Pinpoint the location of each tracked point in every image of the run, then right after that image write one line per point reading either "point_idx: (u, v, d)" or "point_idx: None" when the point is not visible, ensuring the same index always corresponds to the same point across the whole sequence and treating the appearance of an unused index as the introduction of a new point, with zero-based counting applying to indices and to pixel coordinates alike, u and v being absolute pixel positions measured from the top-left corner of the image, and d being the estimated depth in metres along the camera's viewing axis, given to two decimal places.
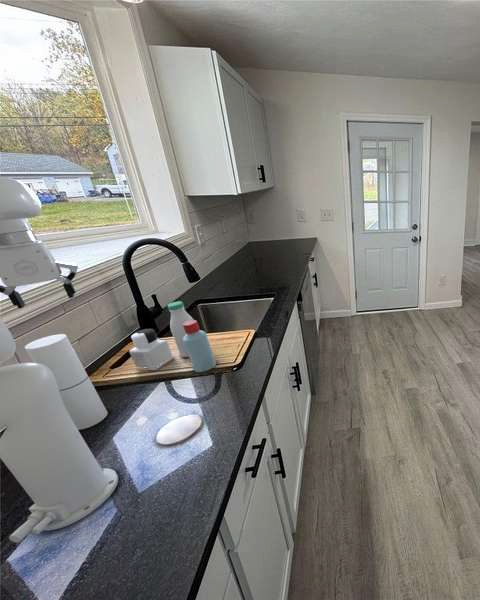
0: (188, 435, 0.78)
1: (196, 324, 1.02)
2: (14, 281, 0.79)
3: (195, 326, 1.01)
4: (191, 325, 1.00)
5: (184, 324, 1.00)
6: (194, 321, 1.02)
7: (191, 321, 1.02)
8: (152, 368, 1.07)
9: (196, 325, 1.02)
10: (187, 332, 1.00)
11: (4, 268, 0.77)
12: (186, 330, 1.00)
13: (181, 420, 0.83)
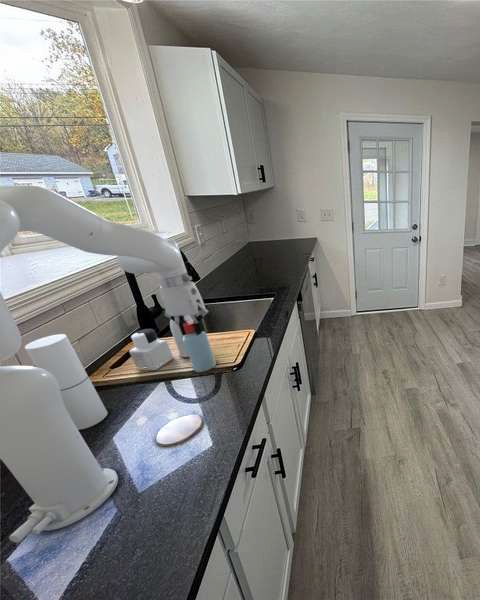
0: (188, 435, 0.78)
1: None
2: None
3: None
4: (191, 325, 1.00)
5: (184, 324, 1.00)
6: None
7: (191, 321, 1.02)
8: (152, 368, 1.07)
9: None
10: (187, 332, 1.00)
11: None
12: (186, 330, 1.00)
13: (181, 420, 0.83)
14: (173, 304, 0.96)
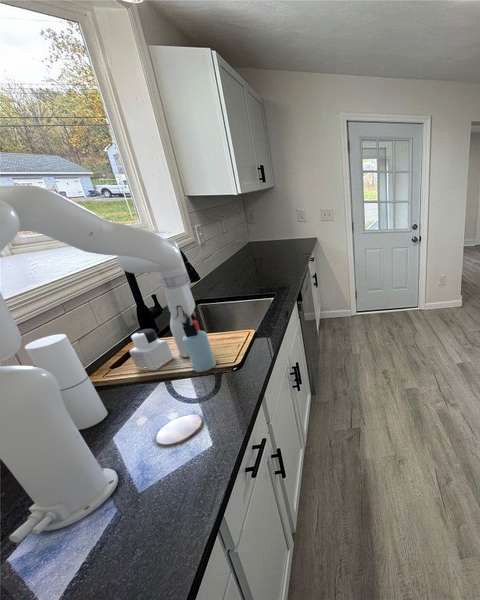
0: (188, 435, 0.78)
1: None
2: None
3: None
4: None
5: (193, 322, 1.01)
6: None
7: None
8: (152, 368, 1.07)
9: None
10: (198, 328, 1.03)
11: None
12: (198, 326, 1.02)
13: (181, 420, 0.83)
14: (190, 300, 0.98)
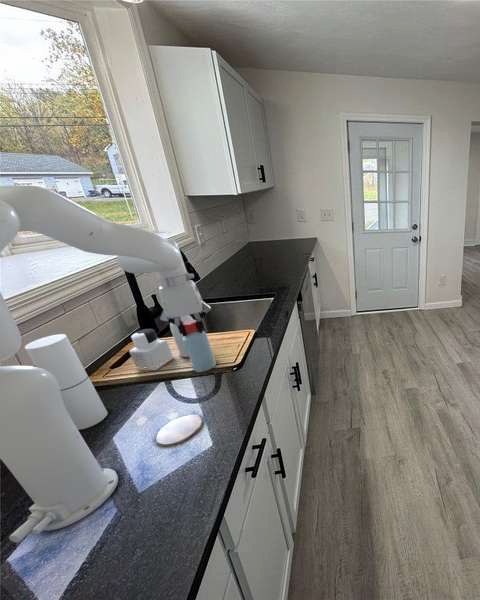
0: (188, 435, 0.78)
1: None
2: None
3: None
4: None
5: (194, 321, 1.01)
6: (186, 322, 1.01)
7: (187, 322, 1.01)
8: (152, 368, 1.07)
9: None
10: None
11: None
12: None
13: (181, 420, 0.83)
14: (176, 304, 0.96)
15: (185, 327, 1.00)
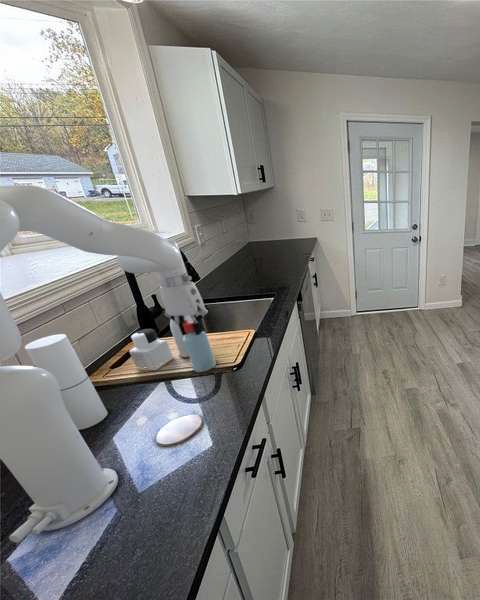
0: (188, 435, 0.78)
1: (183, 326, 1.00)
2: None
3: None
4: None
5: None
6: (186, 323, 1.00)
7: (189, 322, 1.01)
8: (152, 368, 1.07)
9: None
10: None
11: None
12: None
13: (181, 420, 0.83)
14: (173, 304, 0.96)
15: None
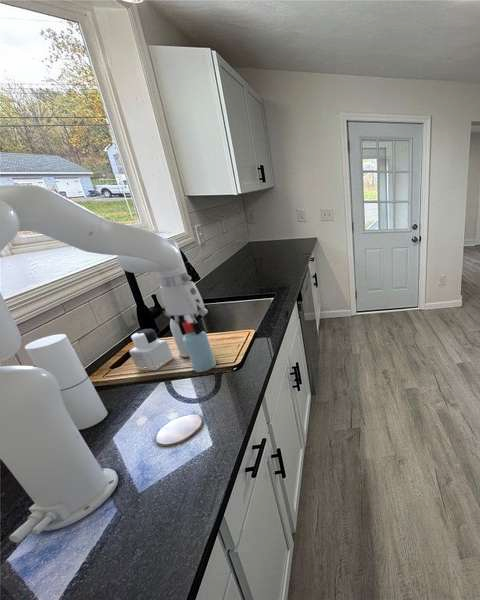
0: (188, 435, 0.78)
1: None
2: None
3: None
4: (188, 325, 1.00)
5: (183, 323, 1.00)
6: None
7: (191, 320, 1.02)
8: (152, 368, 1.07)
9: None
10: (185, 331, 1.01)
11: None
12: (184, 329, 1.00)
13: (181, 420, 0.83)
14: (173, 303, 0.96)
15: None
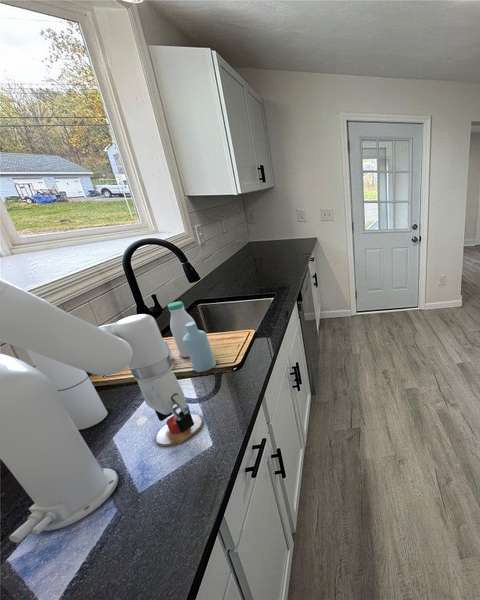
0: (188, 435, 0.78)
1: None
2: (147, 403, 0.76)
3: None
4: None
5: None
6: (171, 418, 0.79)
7: (172, 420, 0.79)
8: None
9: None
10: None
11: (141, 391, 0.75)
12: None
13: None
14: None
15: (169, 427, 0.78)
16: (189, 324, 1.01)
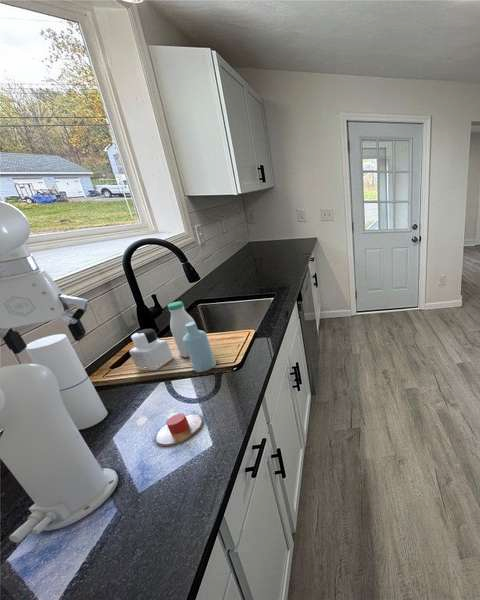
0: (188, 435, 0.78)
1: None
2: (6, 322, 0.61)
3: None
4: None
5: (181, 418, 0.79)
6: (171, 418, 0.79)
7: (172, 420, 0.79)
8: (152, 368, 1.07)
9: None
10: (187, 423, 0.81)
11: None
12: (186, 421, 0.81)
13: None
14: None
15: (169, 427, 0.78)
16: (189, 324, 1.01)
